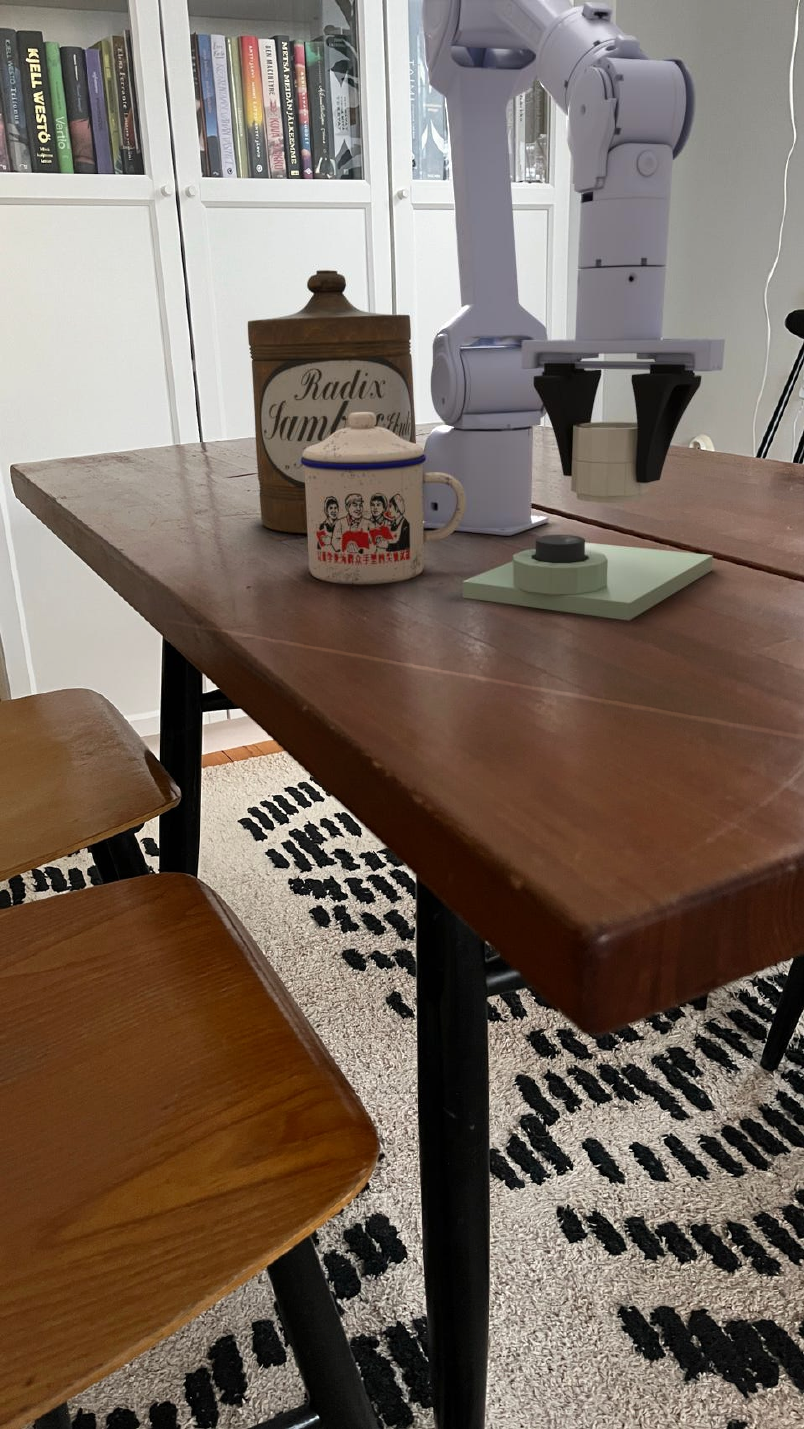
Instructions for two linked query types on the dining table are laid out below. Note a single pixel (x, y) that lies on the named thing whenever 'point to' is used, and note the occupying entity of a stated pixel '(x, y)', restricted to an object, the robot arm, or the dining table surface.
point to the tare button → (560, 549)
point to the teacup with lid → (369, 505)
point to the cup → (606, 463)
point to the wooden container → (322, 387)
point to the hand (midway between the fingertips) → (611, 478)
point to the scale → (591, 580)
